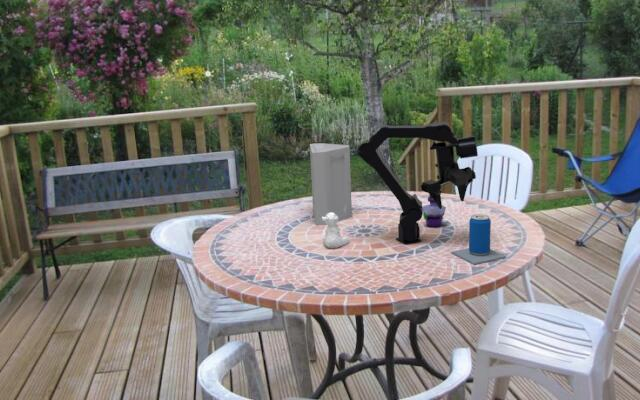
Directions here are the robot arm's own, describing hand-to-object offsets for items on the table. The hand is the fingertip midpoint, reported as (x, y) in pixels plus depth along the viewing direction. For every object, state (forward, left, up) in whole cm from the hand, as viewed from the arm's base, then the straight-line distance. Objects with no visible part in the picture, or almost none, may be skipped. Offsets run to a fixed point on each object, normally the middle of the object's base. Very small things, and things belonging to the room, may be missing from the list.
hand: (451, 204), depth 214 cm
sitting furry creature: (-37, +16, -13) cm, 42 cm away
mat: (-2, -17, -13) cm, 21 cm away
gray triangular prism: (-23, +47, -13) cm, 54 cm away
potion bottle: (+4, +17, -13) cm, 22 cm away
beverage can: (-1, -16, -12) cm, 20 cm away
